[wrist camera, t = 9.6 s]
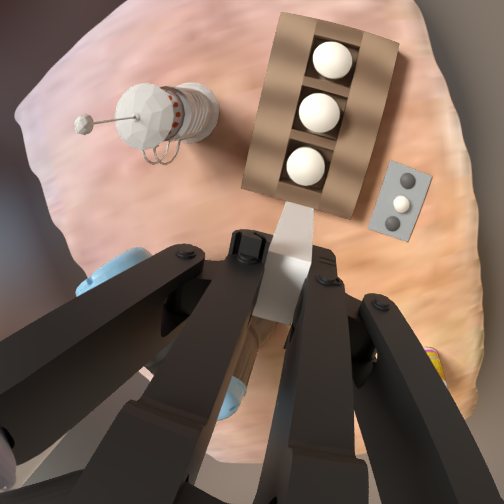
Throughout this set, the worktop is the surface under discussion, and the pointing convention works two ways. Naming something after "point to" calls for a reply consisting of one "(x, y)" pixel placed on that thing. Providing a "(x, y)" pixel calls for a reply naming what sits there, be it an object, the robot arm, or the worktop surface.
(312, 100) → the button
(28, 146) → the worktop surface
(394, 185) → the card
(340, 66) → the button
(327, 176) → the board
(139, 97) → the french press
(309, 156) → the button
